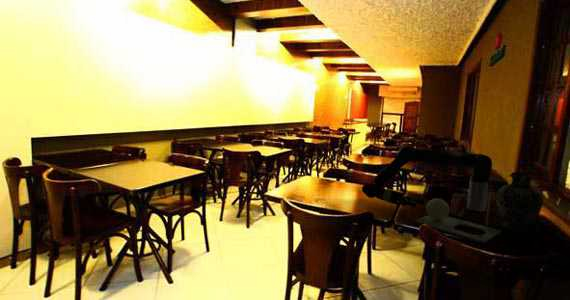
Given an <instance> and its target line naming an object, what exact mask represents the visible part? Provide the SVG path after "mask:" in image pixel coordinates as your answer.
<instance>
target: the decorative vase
mask: <svg viewBox="0 0 570 300" xmlns="http://www.w3.org/2000/svg"><path fill="white" fill-rule="evenodd" d="M509 177H511V179H512V180H511V183H510V184H505V185H502V186H501V187H499V188H498V191H497V193H498V194H503V196H502V201H499V200H495V201H496V208H497V210H498V213H499V215H500V217H501V218H502V219H503V220H504V221H505V222H502V226H503V227H504V228H505V229H508V230H511V231H512V230H513V231H516V232H528V231H529V228H528V227H527V226H531V225H535V223H536V221H537V219H538V216H539V214H540V213H541V210H542V209H543V204H544V203H543V202H544V201H543V196H542V194H541V192H540V191H538V189H536V188H534V187H532V186H531V183H530V182H531V180H533V179H534V176H532V174H531V173H528V172H522V171H517V172H516V171H513V172H511V173H510V174H509Z"/></svg>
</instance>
